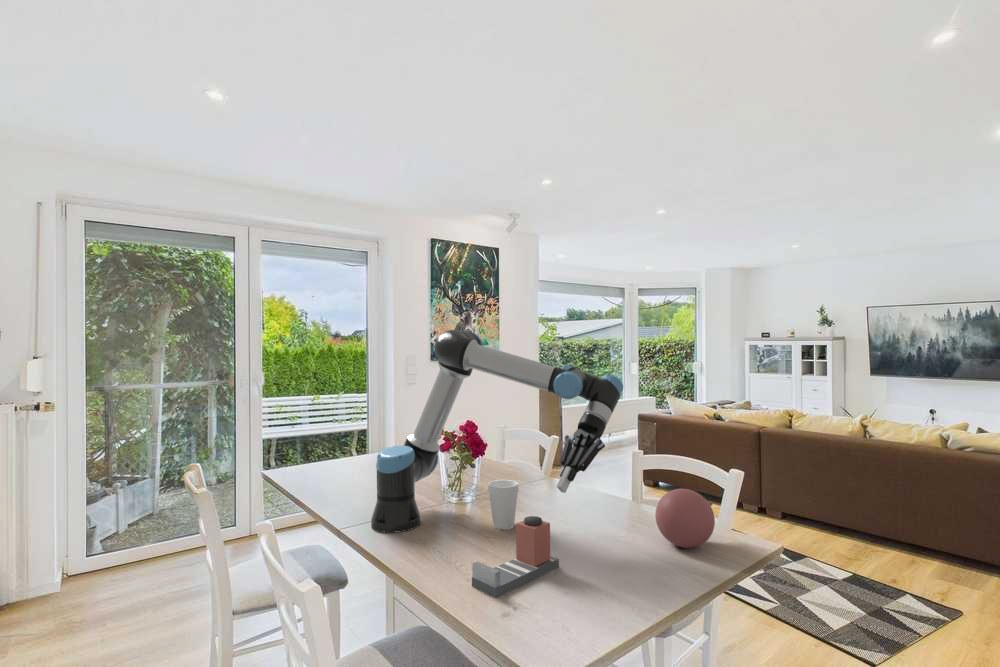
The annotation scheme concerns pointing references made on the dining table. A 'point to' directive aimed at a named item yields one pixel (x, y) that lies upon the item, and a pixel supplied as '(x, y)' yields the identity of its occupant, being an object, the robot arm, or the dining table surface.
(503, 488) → the foam cup
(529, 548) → the plug
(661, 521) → the balloon
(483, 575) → the track
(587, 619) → the dining table surface
